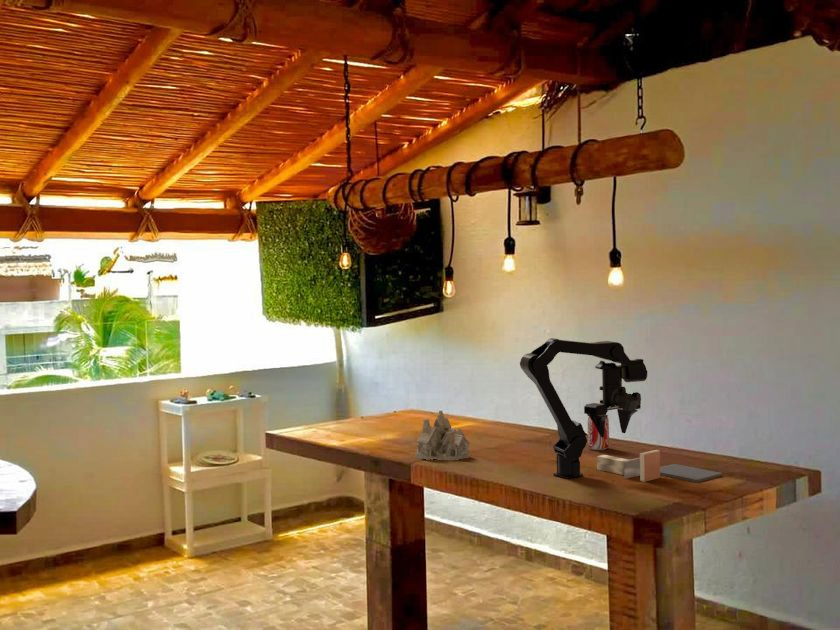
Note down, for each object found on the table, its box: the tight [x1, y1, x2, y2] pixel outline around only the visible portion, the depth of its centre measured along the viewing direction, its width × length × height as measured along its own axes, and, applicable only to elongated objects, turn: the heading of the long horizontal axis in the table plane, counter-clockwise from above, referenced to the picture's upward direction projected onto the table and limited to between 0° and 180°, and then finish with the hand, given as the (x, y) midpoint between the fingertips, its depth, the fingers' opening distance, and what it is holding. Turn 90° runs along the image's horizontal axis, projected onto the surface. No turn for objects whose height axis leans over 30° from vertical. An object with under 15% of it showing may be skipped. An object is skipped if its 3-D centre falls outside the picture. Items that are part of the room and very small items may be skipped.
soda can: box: [587, 413, 610, 451], centre depth 301 cm, size 7×7×12 cm
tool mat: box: [660, 463, 723, 483], centre depth 262 cm, size 17×12×1 cm
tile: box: [639, 449, 661, 483], centre depth 257 cm, size 2×7×8 cm, turn 126°
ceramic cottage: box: [414, 410, 471, 461], centre depth 296 cm, size 16×16×15 cm
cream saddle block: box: [596, 454, 640, 480], centre depth 267 cm, size 14×9×5 cm, turn 36°
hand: (613, 435), depth 268 cm, fingers open, 9 cm apart
